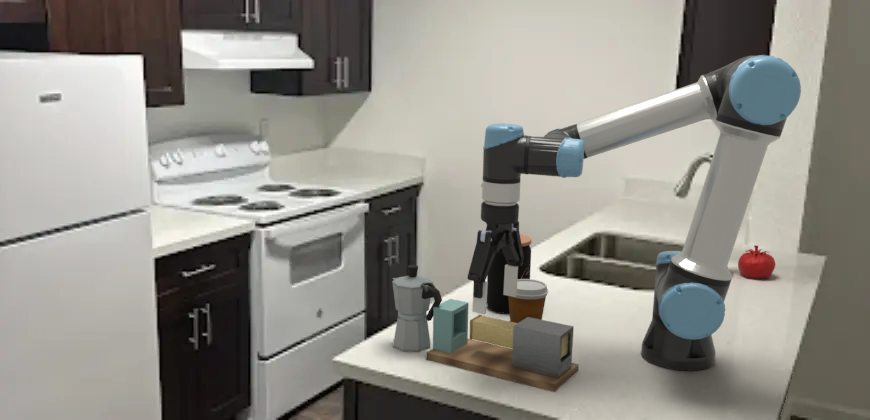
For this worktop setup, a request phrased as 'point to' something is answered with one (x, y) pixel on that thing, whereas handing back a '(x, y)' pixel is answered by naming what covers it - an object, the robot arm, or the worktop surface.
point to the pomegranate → (756, 264)
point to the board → (496, 364)
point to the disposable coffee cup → (528, 300)
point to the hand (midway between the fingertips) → (495, 303)
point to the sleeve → (541, 347)
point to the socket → (450, 325)
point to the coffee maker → (413, 310)
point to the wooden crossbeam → (499, 332)
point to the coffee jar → (496, 277)
